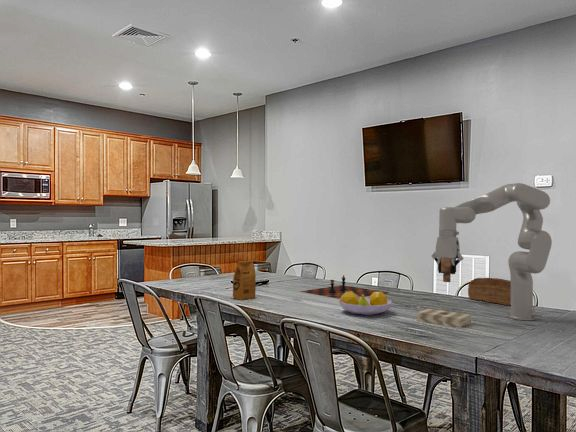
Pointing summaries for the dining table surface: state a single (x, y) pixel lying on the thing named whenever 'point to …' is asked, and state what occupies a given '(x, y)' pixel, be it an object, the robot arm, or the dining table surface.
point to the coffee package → (244, 281)
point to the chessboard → (341, 290)
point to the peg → (446, 269)
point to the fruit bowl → (365, 303)
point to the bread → (490, 290)
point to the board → (444, 317)
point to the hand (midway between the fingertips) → (446, 273)
